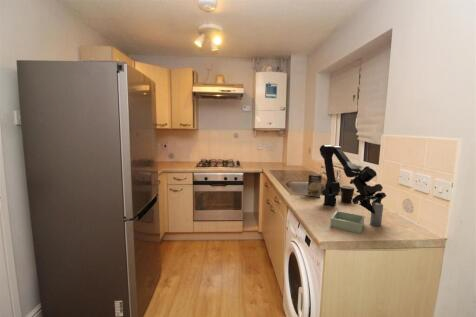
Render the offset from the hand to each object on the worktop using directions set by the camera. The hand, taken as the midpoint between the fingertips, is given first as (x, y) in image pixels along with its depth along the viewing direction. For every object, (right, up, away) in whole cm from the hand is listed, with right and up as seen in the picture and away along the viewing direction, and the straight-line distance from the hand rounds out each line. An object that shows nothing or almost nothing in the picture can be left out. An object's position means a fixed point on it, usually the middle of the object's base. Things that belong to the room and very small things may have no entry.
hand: (378, 212), depth 119 cm
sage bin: (-16, -6, 0) cm, 17 cm away
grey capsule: (0, -6, +2) cm, 7 cm away
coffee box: (-16, 0, +52) cm, 55 cm away
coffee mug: (+3, -2, +42) cm, 42 cm away
